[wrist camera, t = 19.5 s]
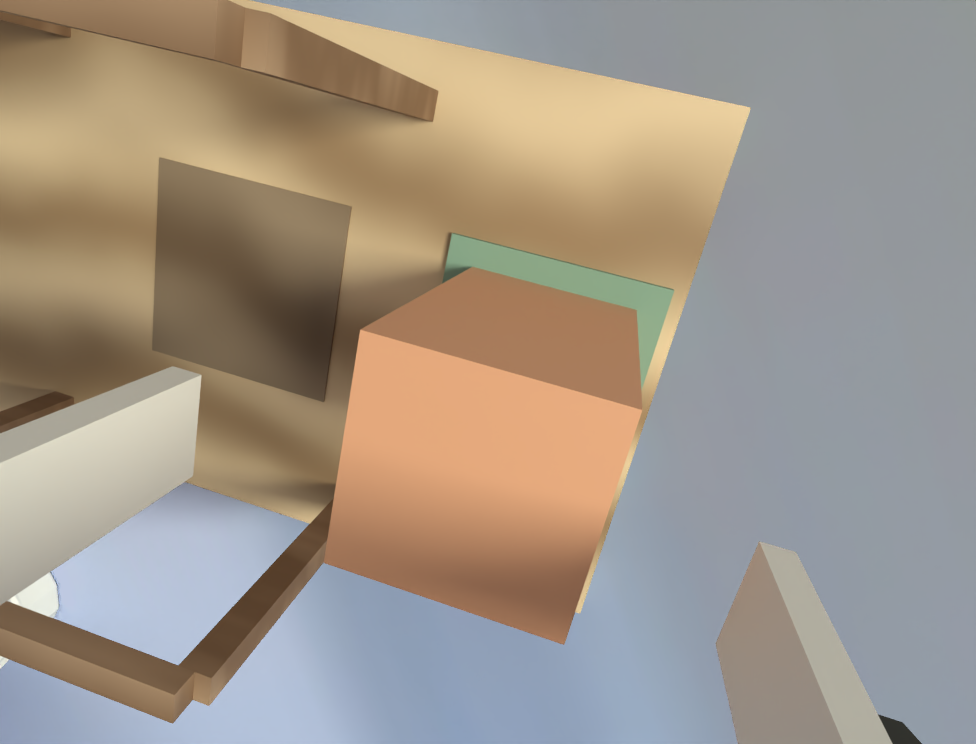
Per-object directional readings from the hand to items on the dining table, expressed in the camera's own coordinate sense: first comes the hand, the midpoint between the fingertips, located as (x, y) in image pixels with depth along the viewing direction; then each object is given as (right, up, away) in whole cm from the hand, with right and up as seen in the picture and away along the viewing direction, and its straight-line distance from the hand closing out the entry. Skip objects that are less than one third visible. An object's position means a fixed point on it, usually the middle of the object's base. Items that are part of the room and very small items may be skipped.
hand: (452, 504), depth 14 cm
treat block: (+2, +3, +9) cm, 10 cm away
